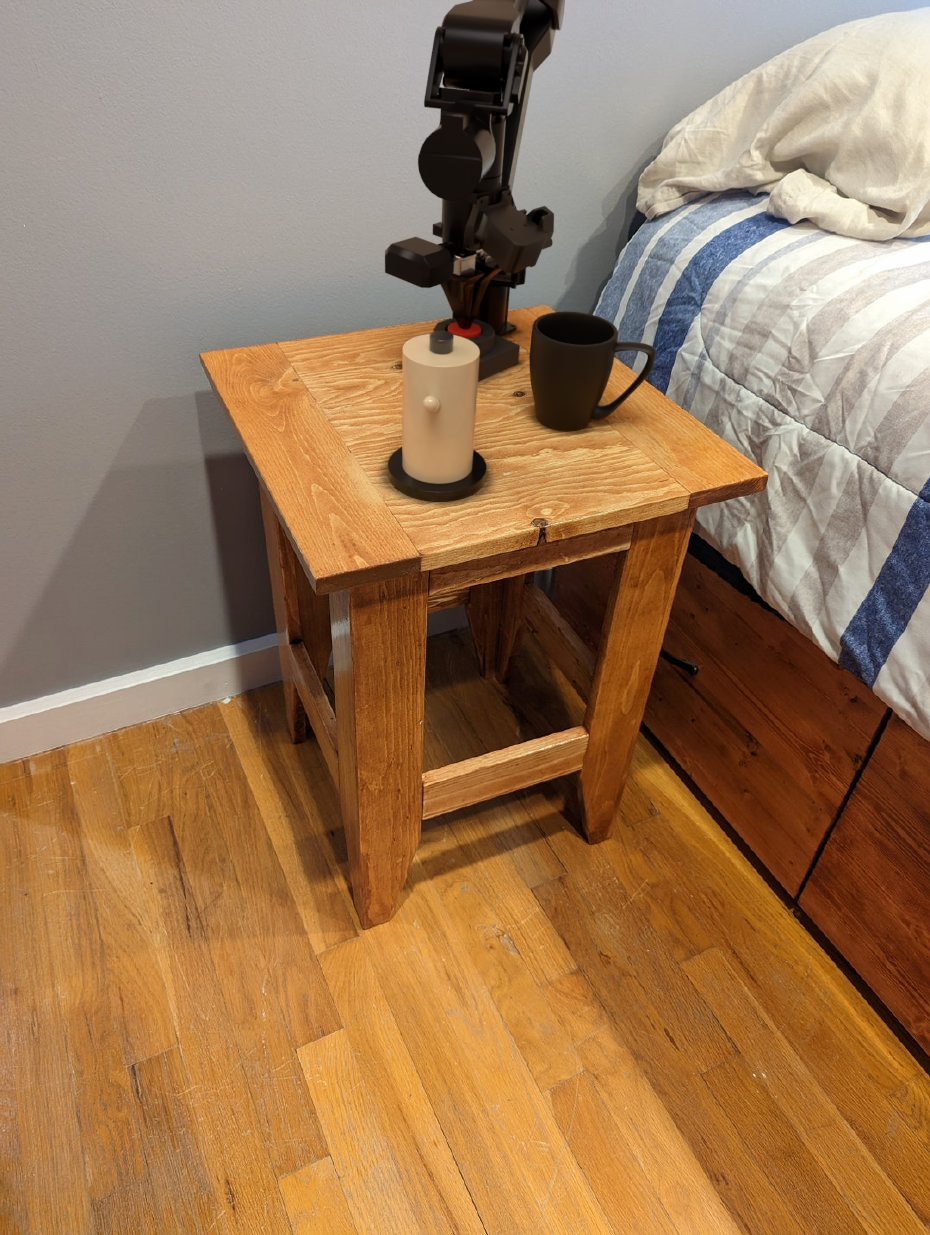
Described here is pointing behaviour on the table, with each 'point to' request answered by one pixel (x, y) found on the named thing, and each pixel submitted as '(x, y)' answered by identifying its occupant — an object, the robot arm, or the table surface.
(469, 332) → the stop button
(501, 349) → the switch block
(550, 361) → the mug
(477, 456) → the plate
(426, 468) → the cream cylinder
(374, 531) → the table surface
